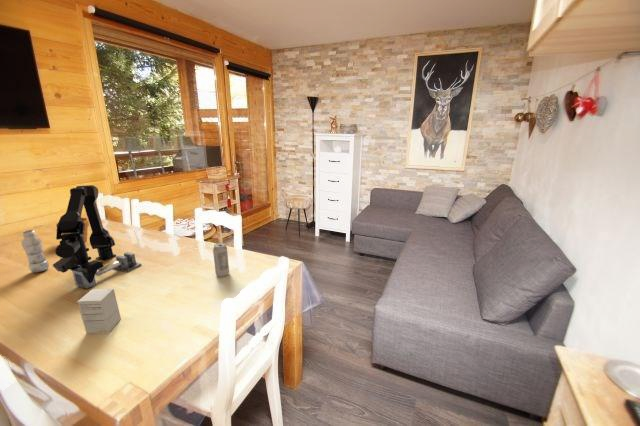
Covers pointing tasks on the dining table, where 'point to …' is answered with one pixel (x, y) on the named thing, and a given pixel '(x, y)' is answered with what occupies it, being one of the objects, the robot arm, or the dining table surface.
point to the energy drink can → (221, 259)
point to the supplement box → (99, 310)
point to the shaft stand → (120, 264)
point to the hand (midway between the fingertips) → (85, 281)
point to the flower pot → (84, 230)
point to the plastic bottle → (34, 252)
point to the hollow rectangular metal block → (82, 279)
